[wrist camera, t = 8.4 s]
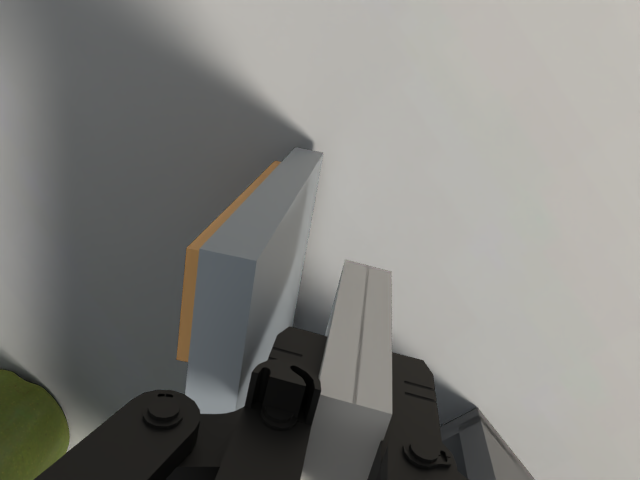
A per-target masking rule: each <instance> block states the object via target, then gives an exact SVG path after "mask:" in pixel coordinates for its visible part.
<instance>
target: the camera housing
mask: <svg viewBox="0 0 640 480" xmlns="http://www.w3.org/2000/svg"><path fill="white" fill-rule="evenodd" d="M440 431H441V439H442V443H443V444H444V445H445V446H446V447H447V448H448V450H449V451H450V452H451V453H452V454H453V457H454V459H455V462H456V465H457V471H458V472H460V473H461V474H462V475H463V476H464V477H466V478H467V479H469V480H535V479H534V478H533V477H532V476H531V474H530V473H529V472H528V471H527V469H526V468H525V467H524V465H523V464H522V463H521V462H520V460H519V459H518V458H517V457H516V455H515V454H514V453H513V452H512V450H511V449H510V448H509V447H508V445H507V444H506V443H505V442H504V440H503V439H502V438H501V436H500V435H499V434H498V433H497V431H496V430H495V429H494V428H493V426H492V425H491V424H490V423H489V421H488V420H487V419H486V418H485V416H484V415H483V414H482V413H481V411H480V410H479V409H478V408H476V409H474V410H472V411H470V412H468V413H466V414H464V415H462V416H460V417H459V418H457V419H455V420H453V421H451V422H449V423H447V424H445V425H443V426H441V427H440Z"/></svg>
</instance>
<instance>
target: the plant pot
mask: <svg viewBox="0 0 640 480" xmlns="http://www.w3.org/2000/svg"><path fill="white" fill-rule="evenodd" d="M69 438H70V436H69V428H68V424H67V421H66V418H65V416H64V413H63V411H62V410H61V408H60V406H59V405H58V404H57V402H56V401H55V400H54V398H53V397H52V396H51V395H50V394H49V393H48V392H47V391H46V390H45V389H43V388H42V387H41V386H39V385H36V384H32V383H30V382H27V381H25V380H23V379H22V378H20V377H19V376H17V375H16V374H15V373H14V372H11V371H7V370H2V369H0V480H34V479H35V478H36V477H37V476H39V475H40V474H41V473H42V472H44V471H45V470H46V469H47V468H48V467H50V466H51V465H52V464H53V463H55V462H56V461H57V460H58V459H60V458H61V457H62V456H63V455H65V454H66V451H67V448H68V445H69Z"/></svg>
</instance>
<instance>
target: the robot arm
mask: <svg viewBox="0 0 640 480" xmlns="http://www.w3.org/2000/svg"><path fill="white" fill-rule="evenodd" d="M434 390H435V386H434V378H433V374H432V373H431V371H430V370H429V368H428V367H427V365H426V364H425V362H424V361H423V360H419V359H415V358H412V357H408V356H404V355H400V354H397V353H393V352H392V284H391V271H387V270H383V269H380V268H376V267H372V266H368V265H364V264H360V263H356V262H353V261H349V260H345V262H344V266H343V270H342V273H341V277H340V281H339V285H338V288H337V292H336V296H335V300H334V303H333V307H332V311H331V314H330V318H329V322H328V326H327V329H326V333H325V336H324V335H320V334H316V333H312V332H309V331H305V330H301V329H297V328H294V327H290V326H289V327H288V328H286V329H285V330H283V331H282V332H280V333H279V334H278V335H277V337H276V339H275V342H274V344H273V347H272V349H271V352H270V355H269V357H268V360H267V361H265V362H262V363H260V364H258V365H257V366H256V367H255V368H254V370H253V371H252V373H251V378H250V383H249V387H248V392H247V397H246V401H245V406H244V407H242V408H240V409H238V410H236V411H233V412H229V413H223V414H200V409H199V408H198V406H197V404H196V403H195V401H194V400H192V399H191V398H189V397H188V396H186V395H185V394H182V393H179V392H175V391H172V390H155V391H150V392H146V393H143V394H141V395H139V396H138V397H136V398H134V399H132V400H131V401H130V402H129V403H127V404H126V405H125V406H124V407H123V408H121V409H120V410H119V411H118V412H116V413H115V414H114V415H113V416H111V417H110V418H109V419H108V420H106V421H105V422H104V423H103V424H102V425H100V426H99V427H98V428H97V429H95V430H94V431H93V432H92V433H90V434H89V435H88V436H87V437H85V438H84V439H83V440H82V441H81V442H79V443H78V444H77V445H76V446H74V447H73V448H72V449H71V450H69V451H68V452H67V453H66V454H65V455H63V456H62V457H61V458H60V459H58V460H57V461H56V462H55V463H53V464H52V465H51V466H50V467H48V468H47V469H46V470H45V471H44V472H42V473H41V474H40V475H39V476H37V477H36V478H35V479H34V480H469V479H467V478H466V477H464V476H463V475H462V474H461V473H460V472H458V471H457V465H456V462H455V459H454V457H453V454H452V453H451V452H450V451H449V450H448V448H447V447H446V446H445V445H444V444H443V443H442V439H441V431H440V424H439V416H438V408H437V403H436V393H435V391H434Z"/></svg>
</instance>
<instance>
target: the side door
mask: <svg viewBox="0 0 640 480" xmlns="http://www.w3.org/2000/svg"><path fill="white" fill-rule="evenodd" d="M322 159H323V153H322V152H317V151H312V150H307V149H302V148H297V147H295V148H294V149H293V150H292V151H291V152H290V153H289V154H288V156H287V157H286V158H285V159H284V160H283V161H282V162H279V161H274V162H273V163H272V164H271V165H270V166H269V167H268V168H267V169H266V170H265V171H264V172H263V173H262V174H261V175H260V176H259V177H258V178H257V179H256V180H255V181H254V182H253V183H252V184H251V185H250V186H249V187H248V188H247V189H246V190H245V191H244V192H243V193H242V194H241V195H240V196H239V197H238V198H237V199H236V200H235V201H234V202H233V203H232V204H231V205H230V206H229V207H228V208H227V209H225V210H224V211H223V212H222V213H221V214H220V215H219V216H218V217H217V218H216V219H215V220H214V221H213V222H212V223H211V224H210V225H209V226H208V227H207V228H206V229H205V230H204V231H203V232H202V233H201V234H200V235H199V236H198V237H197V238H196V239H195V240H194V241H193V242H192V243H191V244H190V245H189V246H188V247H187V248H186V259H185V270H184V281H183V292H182V304H181V315H180V326H179V337H178V348H177V359H176V360H180V361H184V362H188V369H187V379H186V389H185V395H186V396H188V397H189V398H191V399H192V400H194V401H195V403H196V404H197V406H198V408H199V409H200V414H223V413H229V412H233V411H236V410H238V409H240V408H242V407H244V406H245V401H246V397H247V392H248V387H249V383H250V378H251V373H252V371H253V370H254V368H255V367H256V366H257V365H258V364H260V363H262V362H265V361H267V360H268V357H269V355H270V352H271V349H272V347H273V344H274V342H275V339H276V337H277V335H278V334H279V333H280V332H282V331H283V330H285V329H286V328H288V327H289V326H290V327H293V321H294V316H295V310H296V304H297V299H298V293H299V288H300V282H301V276H302V271H303V265H304V260H305V254H306V248H307V243H308V237H309V231H310V226H311V220H312V215H313V209H314V203H315V198H316V192H317V187H318V181H319V175H320V170H321V164H322Z"/></svg>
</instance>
